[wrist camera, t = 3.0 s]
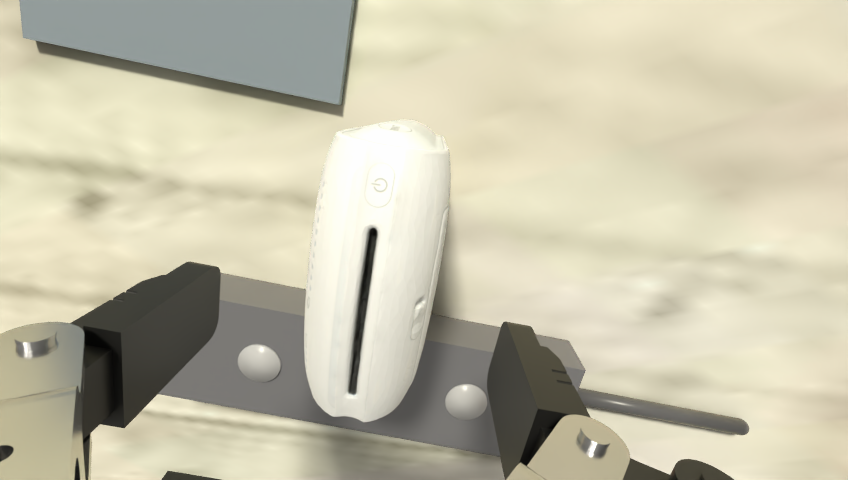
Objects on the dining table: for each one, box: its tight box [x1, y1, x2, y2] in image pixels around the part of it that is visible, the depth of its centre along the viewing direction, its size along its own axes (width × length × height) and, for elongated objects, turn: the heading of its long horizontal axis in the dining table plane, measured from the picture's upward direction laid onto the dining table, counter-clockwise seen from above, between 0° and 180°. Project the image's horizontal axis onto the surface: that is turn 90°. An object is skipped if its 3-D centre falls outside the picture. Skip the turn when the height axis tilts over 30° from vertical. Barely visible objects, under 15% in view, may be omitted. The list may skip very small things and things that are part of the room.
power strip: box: [158, 273, 749, 456], centre depth 24 cm, size 7×37×4 cm, turn 79°
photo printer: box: [304, 119, 451, 422], centre depth 17 cm, size 10×4×12 cm, turn 170°
